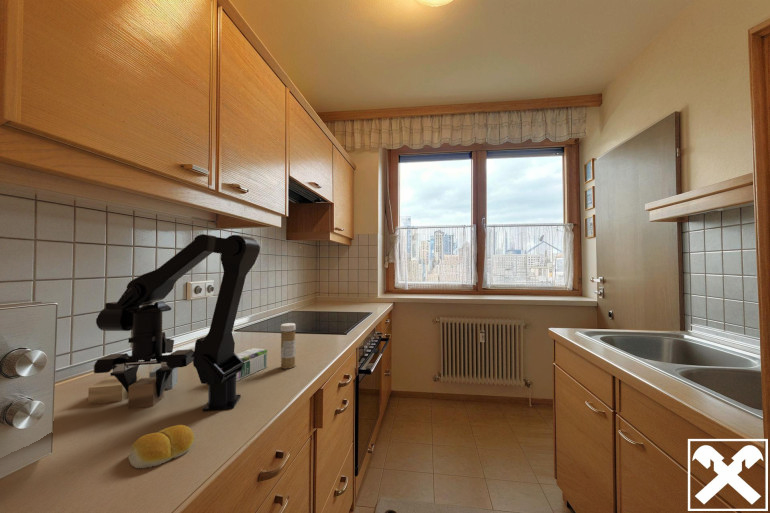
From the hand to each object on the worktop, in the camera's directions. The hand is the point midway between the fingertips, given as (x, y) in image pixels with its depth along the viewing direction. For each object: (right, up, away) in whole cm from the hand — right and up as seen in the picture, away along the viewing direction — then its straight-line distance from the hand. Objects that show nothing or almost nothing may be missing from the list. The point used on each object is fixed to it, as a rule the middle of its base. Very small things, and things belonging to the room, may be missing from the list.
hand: (147, 397), depth 73 cm
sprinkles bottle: (+26, -2, +24) cm, 36 cm away
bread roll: (+18, -1, -20) cm, 27 cm away
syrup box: (+17, +1, +25) cm, 30 cm away
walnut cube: (0, -1, 0) cm, 1 cm away
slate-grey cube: (-3, -2, +10) cm, 10 cm away
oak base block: (-11, -2, +4) cm, 12 cm away
